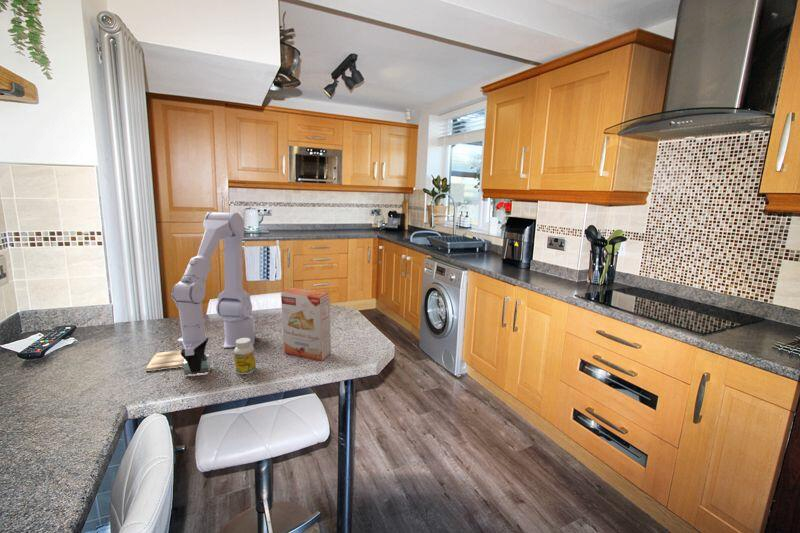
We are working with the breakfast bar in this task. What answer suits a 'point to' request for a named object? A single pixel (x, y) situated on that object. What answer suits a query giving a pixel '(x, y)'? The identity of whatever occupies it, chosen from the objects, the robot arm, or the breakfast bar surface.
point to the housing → (204, 365)
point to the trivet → (166, 360)
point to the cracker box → (306, 323)
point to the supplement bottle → (244, 356)
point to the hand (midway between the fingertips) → (197, 367)
